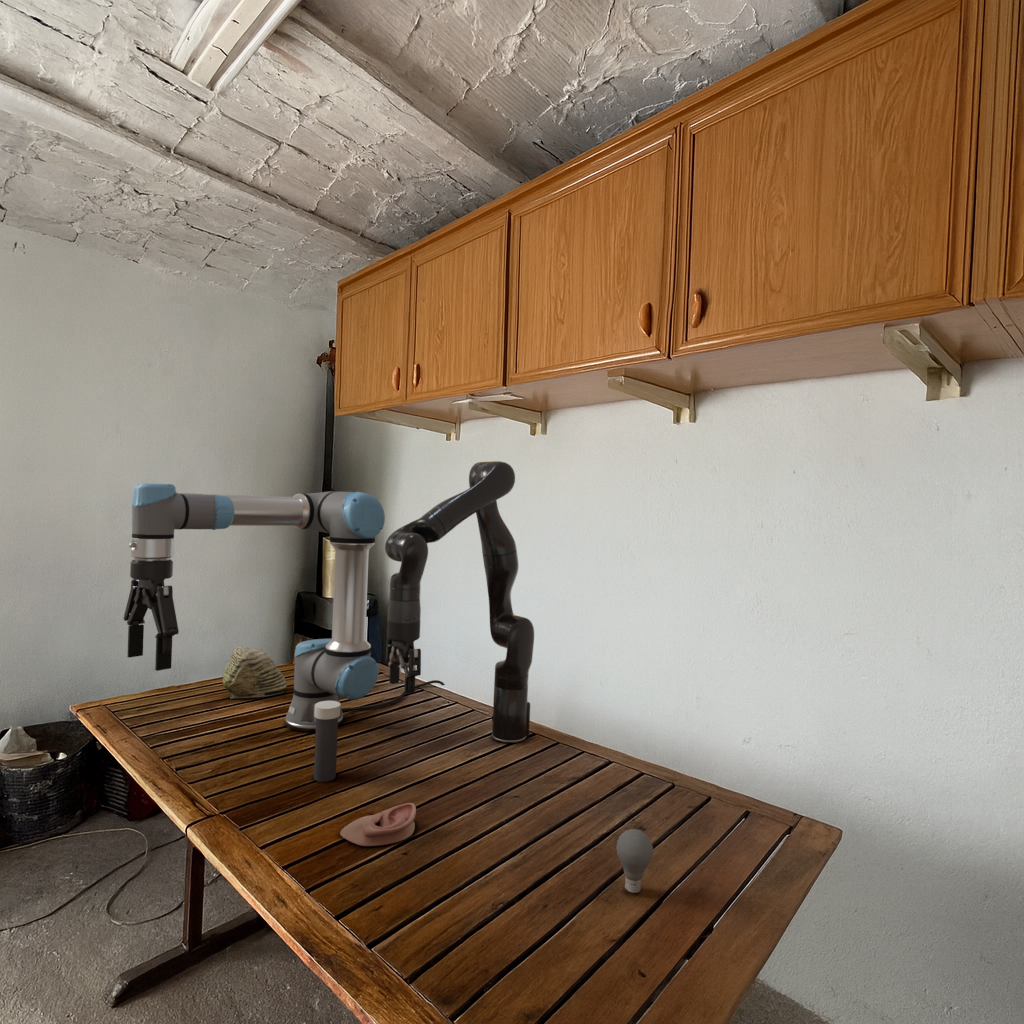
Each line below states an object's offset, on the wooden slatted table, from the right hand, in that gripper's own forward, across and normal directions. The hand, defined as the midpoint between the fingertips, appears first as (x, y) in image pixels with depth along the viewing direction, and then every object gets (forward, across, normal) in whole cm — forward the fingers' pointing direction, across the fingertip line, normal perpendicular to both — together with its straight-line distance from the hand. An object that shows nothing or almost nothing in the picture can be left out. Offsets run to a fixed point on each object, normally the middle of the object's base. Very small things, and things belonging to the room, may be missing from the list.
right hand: (401, 687), depth 146 cm
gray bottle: (+20, +6, +15) cm, 26 cm away
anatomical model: (+20, -22, +14) cm, 33 cm away
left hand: (-8, +14, +50) cm, 53 cm away
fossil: (+20, +73, +16) cm, 77 cm away
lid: (+4, +6, +15) cm, 17 cm away
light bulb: (+20, -60, -15) cm, 65 cm away
